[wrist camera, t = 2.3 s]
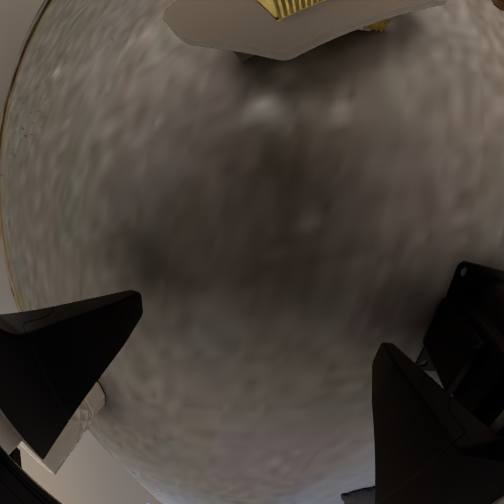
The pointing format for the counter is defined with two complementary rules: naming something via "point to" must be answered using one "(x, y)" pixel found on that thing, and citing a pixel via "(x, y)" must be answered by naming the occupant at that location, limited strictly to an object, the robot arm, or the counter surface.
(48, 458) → the white cup
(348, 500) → the dark slate chunk
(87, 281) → the counter surface
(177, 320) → the counter surface
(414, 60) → the counter surface
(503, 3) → the frame
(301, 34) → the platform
